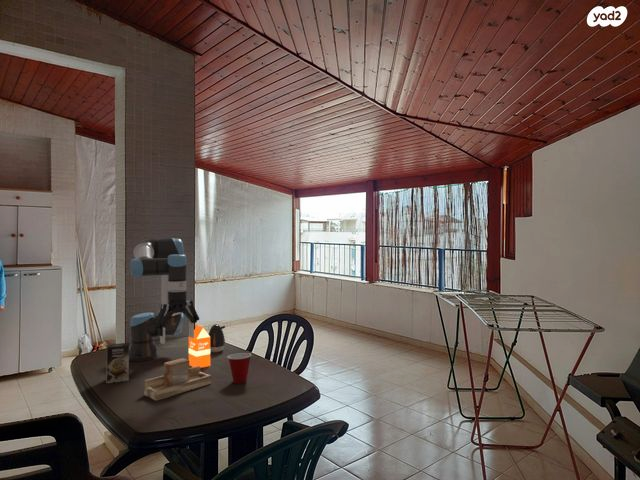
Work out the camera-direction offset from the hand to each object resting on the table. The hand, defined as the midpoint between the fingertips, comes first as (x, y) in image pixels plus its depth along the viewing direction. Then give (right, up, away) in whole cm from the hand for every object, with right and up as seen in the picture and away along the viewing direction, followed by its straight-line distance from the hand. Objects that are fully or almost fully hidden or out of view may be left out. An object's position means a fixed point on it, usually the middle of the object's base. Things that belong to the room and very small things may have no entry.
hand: (177, 340), depth 183 cm
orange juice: (0, -21, +34) cm, 39 cm away
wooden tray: (+1, -21, 0) cm, 21 cm away
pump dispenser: (+2, -20, +59) cm, 63 cm away
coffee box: (-31, -21, +11) cm, 39 cm away
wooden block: (0, -19, 0) cm, 19 cm away
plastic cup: (+25, -21, +10) cm, 34 cm away
